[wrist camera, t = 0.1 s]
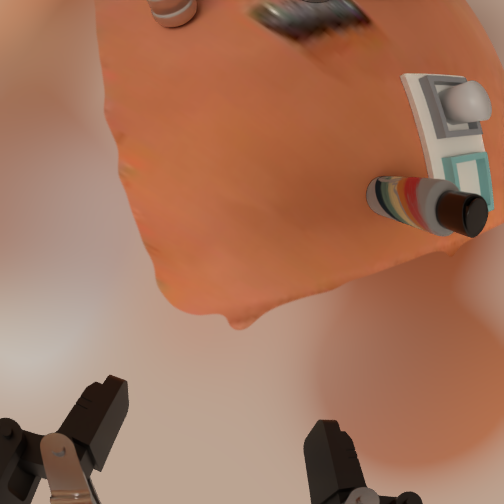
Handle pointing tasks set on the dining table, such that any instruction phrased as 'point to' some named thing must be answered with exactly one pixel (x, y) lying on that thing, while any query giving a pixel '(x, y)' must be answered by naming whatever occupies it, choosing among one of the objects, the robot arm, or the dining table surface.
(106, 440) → the robot arm
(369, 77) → the dining table surface
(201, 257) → the dining table surface
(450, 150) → the tray
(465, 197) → the lotion bottle
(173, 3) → the plastic bottle
